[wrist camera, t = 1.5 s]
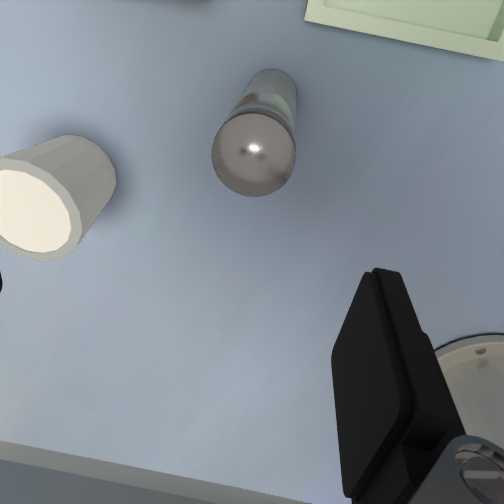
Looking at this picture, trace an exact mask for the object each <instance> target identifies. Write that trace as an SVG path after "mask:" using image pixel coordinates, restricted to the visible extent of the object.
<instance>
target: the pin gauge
mask: <svg viewBox="0 0 504 504" xmlns="http://www.w3.org/2000/svg"><path fill="white" fill-rule="evenodd" d="M296 101H297V92H296V87H295V84H294V82H293V81H292V79H291V78H290V77H289V76H288V75H287V74H286V73H284V72H282V71H280V70H277V69H267V70H263V71H261V72H259V73H258V74H257V75H255V76H254V77H253V79H252V80H251V81H250V83H249V85H248V86H247V88H246V89H245V91H244V93H243V94H242V96H241V97H240V99H239V101H238V102H237V104H236V105H235V107H234V109H233V110H232V112H231V113H230V115H229V117H228V118H227V120H226V121H225V122H224V124H223V125H222V127H221V128H220V130H219V131H218V133H217V135H216V137H215V140H214V143H213V147H212V162H213V167H214V169H215V172H216V174H217V176H218V177H219V179H220V180H221V181H222V182H223V183H224V184H225V185H226V186H227V187H228V188H229V189H231V190H232V191H234V192H236V193H239V194H241V195H245V196H251V197H258V196H264V195H268V194H271V193H273V192H275V191H276V190H278V189H279V188H281V187H282V186H283V185H284V184H285V183H286V181H287V180H288V179H289V177H290V175H291V173H292V171H293V167H294V164H295V151H296V145H295V134H296Z"/></svg>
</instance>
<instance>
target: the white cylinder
mask: <svg viewBox="0 0 504 504" xmlns="http://www.w3.org/2000/svg"><path fill="white" fill-rule="evenodd" d="M115 187H116V172H115V169H114V167H113V165H112V162H111V160H110V158H109V156H108V155H107V154H106V153H105V152H104V151H103V150H102V149H101V148H100V147H99V146H98V145H97V144H95V143H93V142H92V141H90V140H88V139H86V138H84V137H82V136H75V135H64V136H60V137H57V138H54V139H51V140H48V141H45V142H43V143H40V144H37V145H34V146H31V147H28V148H26V149H23V150H20V151H17V152H14V153H12V154H9V155H6V156H3V157H0V244H1V245H2V246H3V247H4V248H6V249H7V250H10V251H12V252H14V253H16V254H18V255H20V256H23V257H25V258H28V259H35V260H41V261H50V260H55V259H60V258H64V257H65V256H67V255H68V254H69V253H70V252H72V251H73V250H74V249H75V248H76V247H77V246H78V245H79V243H80V242H81V240H82V239H83V237H84V236H85V235H86V233H87V232H88V230H89V229H90V227H91V226H92V224H93V223H94V221H95V220H96V219H97V217H98V216H99V214H100V213H101V211H102V210H103V208H104V207H105V206H106V204H107V203H108V201H109V200H110V198H111V197H112V195H113V192H114V190H115Z"/></svg>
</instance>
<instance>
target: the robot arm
mask: <svg viewBox="0 0 504 504" xmlns="http://www.w3.org/2000/svg"><path fill="white" fill-rule="evenodd" d="M1 289H2V277H1V273H0V292H1ZM331 365H332V376H333V387H334V398H335V409H336V420H337V431H338V442H339V453H340V464H341V474H342V485H343V492H344V495H345V497H347V498H351V500H352V504H504V335H487V336H477V337H472V338H467V339H463V340H460V341H457V342H454V343H451V344H449V345H447V346H445V347H443V348H441V349H439V350H437V351H436V352H434V349H433V347H432V344H431V342H430V339H429V337H428V336H427V334H426V333H424V332H423V331H422V329H421V327H420V324H419V321H418V319H417V316H416V313H415V311H414V308H413V306H412V303H411V300H410V298H409V295H408V292H407V290H406V287H405V284H404V282H403V279H402V276H401V274H400V273H399V272H395V271H390V270H386V269H381V268H374V269H373V271H372V272H371V273H370V272H365V273H364V275H363V277H362V279H361V281H360V284H359V286H358V289H357V291H356V294H355V296H354V298H353V301H352V303H351V306H350V308H349V311H348V313H347V316H346V318H345V320H344V323H343V325H342V328H341V330H340V333H339V335H338V338H337V340H336V342H335V345H334V347H333V351H332V356H331ZM0 504H311V503H306V502H302V501H297V500H292V499H288V498H283V497H279V496H274V495H270V494H265V493H260V492H256V491H251V490H247V489H242V488H237V487H232V486H227V485H222V484H217V483H212V482H207V481H202V480H197V479H192V478H187V477H182V476H177V475H172V474H167V473H162V472H157V471H152V470H147V469H142V468H137V467H132V466H127V465H122V464H117V463H112V462H107V461H102V460H97V459H92V458H87V457H82V456H77V455H71V454H66V453H61V452H56V451H51V450H46V449H41V448H36V447H30V446H25V445H20V444H15V443H10V442H5V441H0Z"/></svg>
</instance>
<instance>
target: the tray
mask: <svg viewBox="0 0 504 504" xmlns="http://www.w3.org/2000/svg"><path fill="white" fill-rule="evenodd" d="M304 20H305V21H310V22H315V23H320V24H324V25H329V26H334V27H339V28H344V29H349V30H353V31H358V32H363V33H368V34H373V35H378V36H382V37H387V38H392V39H397V40H402V41H406V42H411V43H416V44H421V45H426V46H431V47H435V48H440V49H445V50H450V51H455V52H460V53H464V54H469V55H474V56H479V57H484V58H489V59H493V60H498V61H503V62H504V0H308V2H307V7H306V11H305V16H304Z"/></svg>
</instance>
